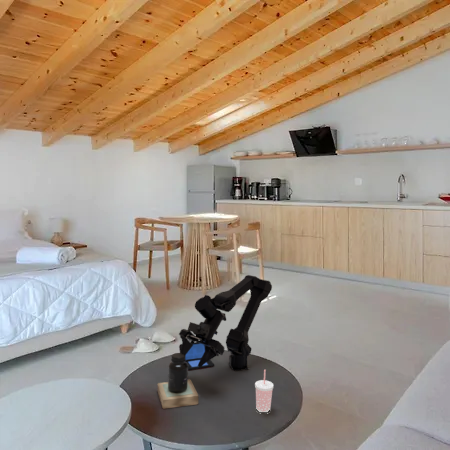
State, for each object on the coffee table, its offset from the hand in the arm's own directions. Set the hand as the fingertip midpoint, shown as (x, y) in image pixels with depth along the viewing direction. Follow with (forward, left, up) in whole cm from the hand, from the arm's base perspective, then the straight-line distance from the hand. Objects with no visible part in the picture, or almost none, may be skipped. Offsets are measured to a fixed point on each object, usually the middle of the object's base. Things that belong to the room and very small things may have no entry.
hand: (189, 362), depth 147 cm
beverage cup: (-21, +18, -11) cm, 30 cm away
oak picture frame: (+5, +3, -11) cm, 12 cm away
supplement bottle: (+5, +3, -8) cm, 10 cm away
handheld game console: (-8, -22, -11) cm, 26 cm away
